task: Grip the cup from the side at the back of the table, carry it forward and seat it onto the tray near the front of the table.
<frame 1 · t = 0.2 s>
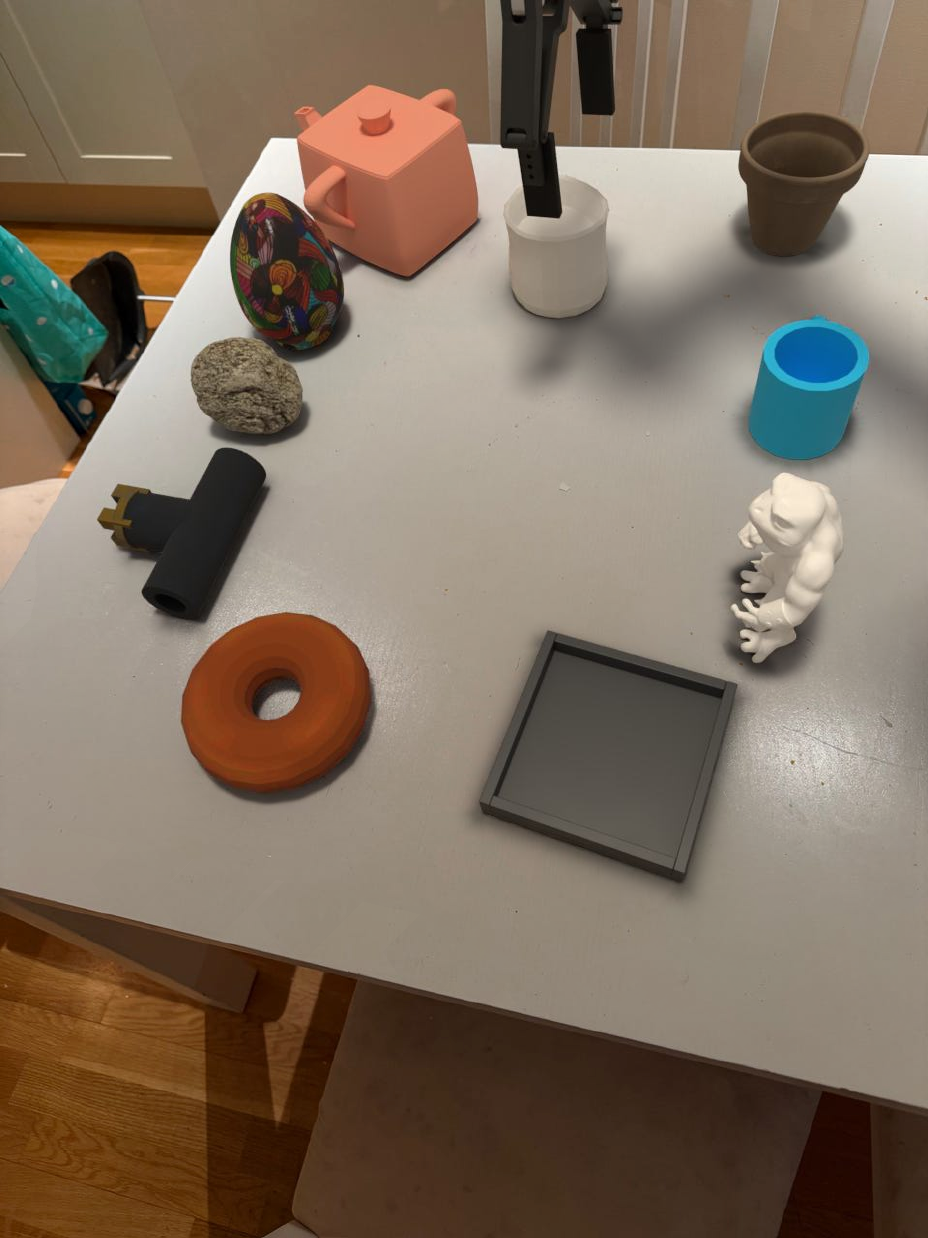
hand: (572, 161, 73), 18 cm above the table, tool pointing down, fingers open, 13 cm apart
tray: (609, 753, 65), on the table
mug: (798, 409, 80), on the table
donut: (286, 713, 70), on the table
teapot: (384, 224, 101), on the table
figurine: (765, 616, 70), on the table
cup: (559, 291, 91), on the table
egg: (305, 330, 93), on the table
pipe connector: (186, 543, 81), on the table
flower pot: (784, 238, 91), on the table
stone: (263, 424, 87), on the table
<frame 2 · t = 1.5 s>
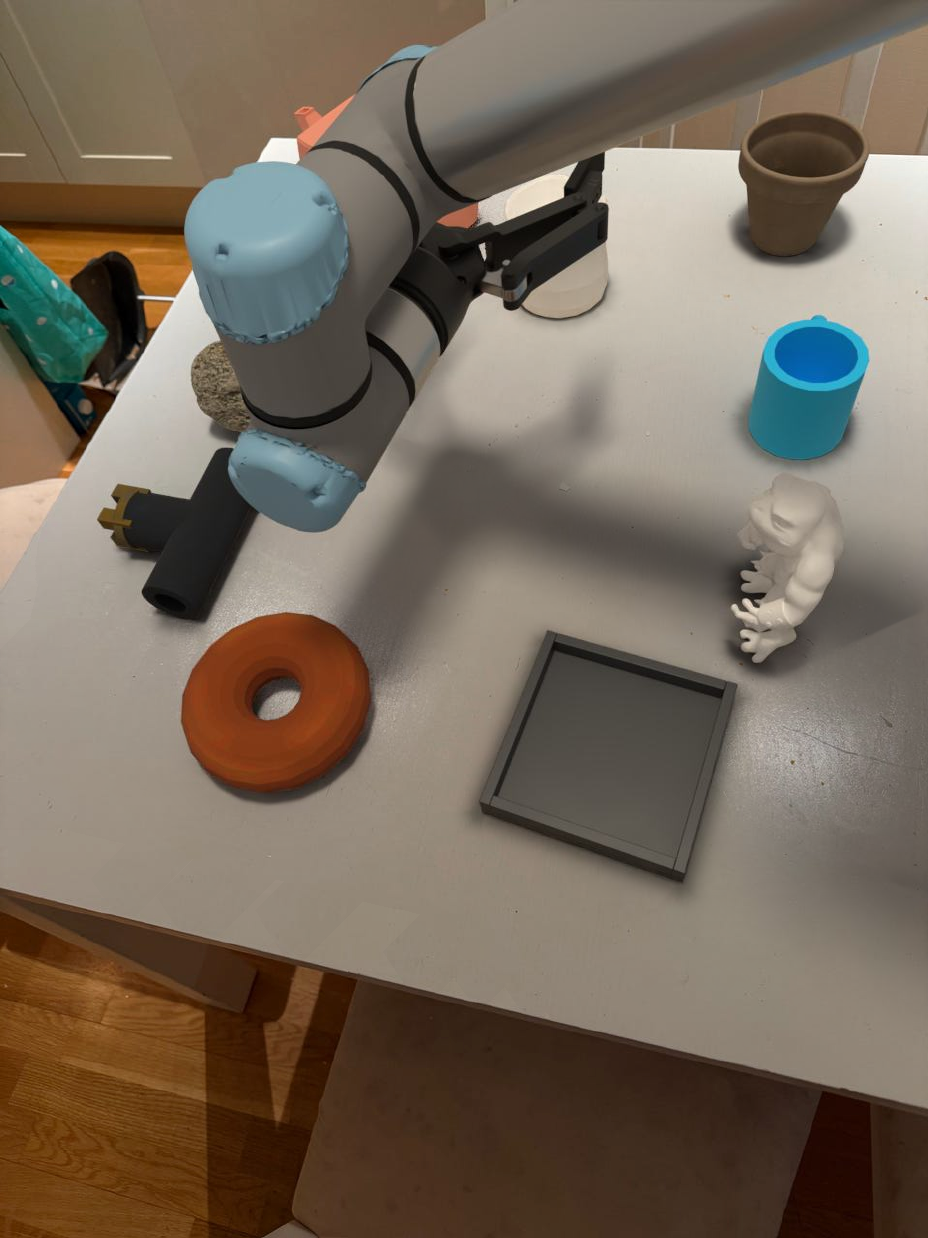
hand: (514, 137, 67), 23 cm above the table, tool horizontal, fingers open, 13 cm apart
nothing on the table moved.
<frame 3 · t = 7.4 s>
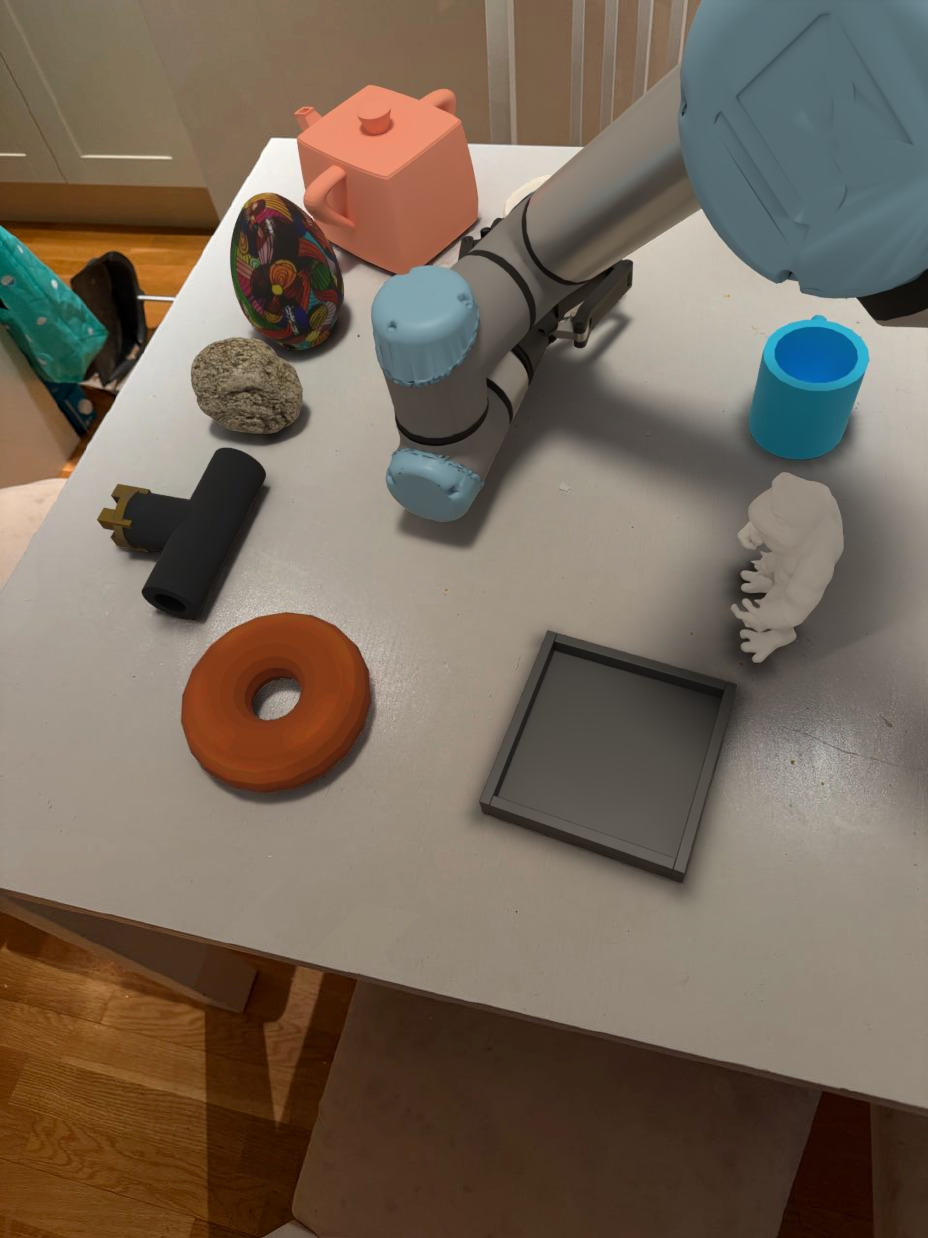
hand: (571, 210, 88), 6 cm above the table, tool horizontal, fingers closed on cup, 10 cm apart
cup: (559, 290, 91), on the table, touching gripper
everything else where it was.
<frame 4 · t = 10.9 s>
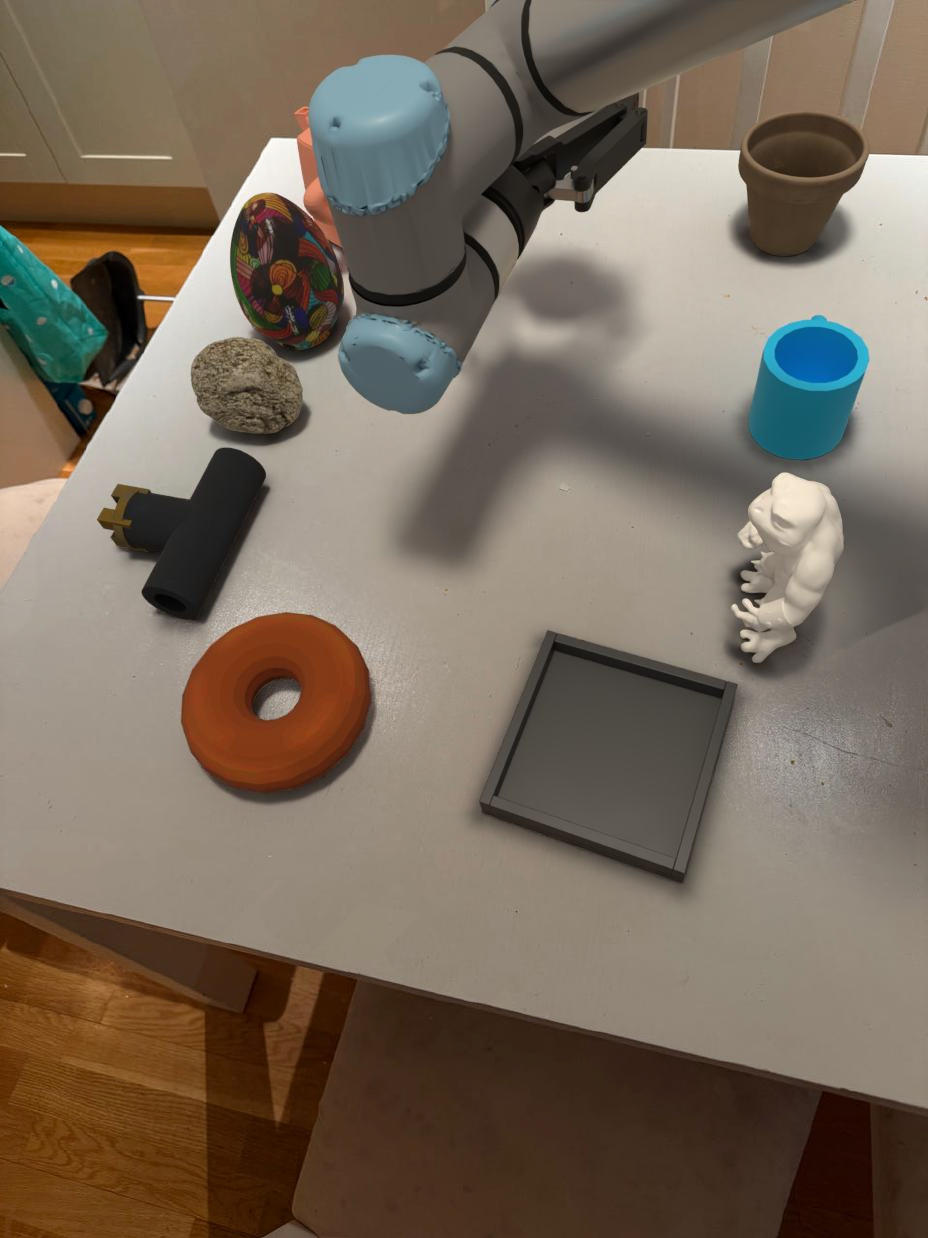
hand: (573, 63, 74), 21 cm above the table, tool horizontal, fingers closed on cup, 10 cm apart
cup: (558, 164, 77), point 15 cm above the table, touching gripper
everything else where it was.
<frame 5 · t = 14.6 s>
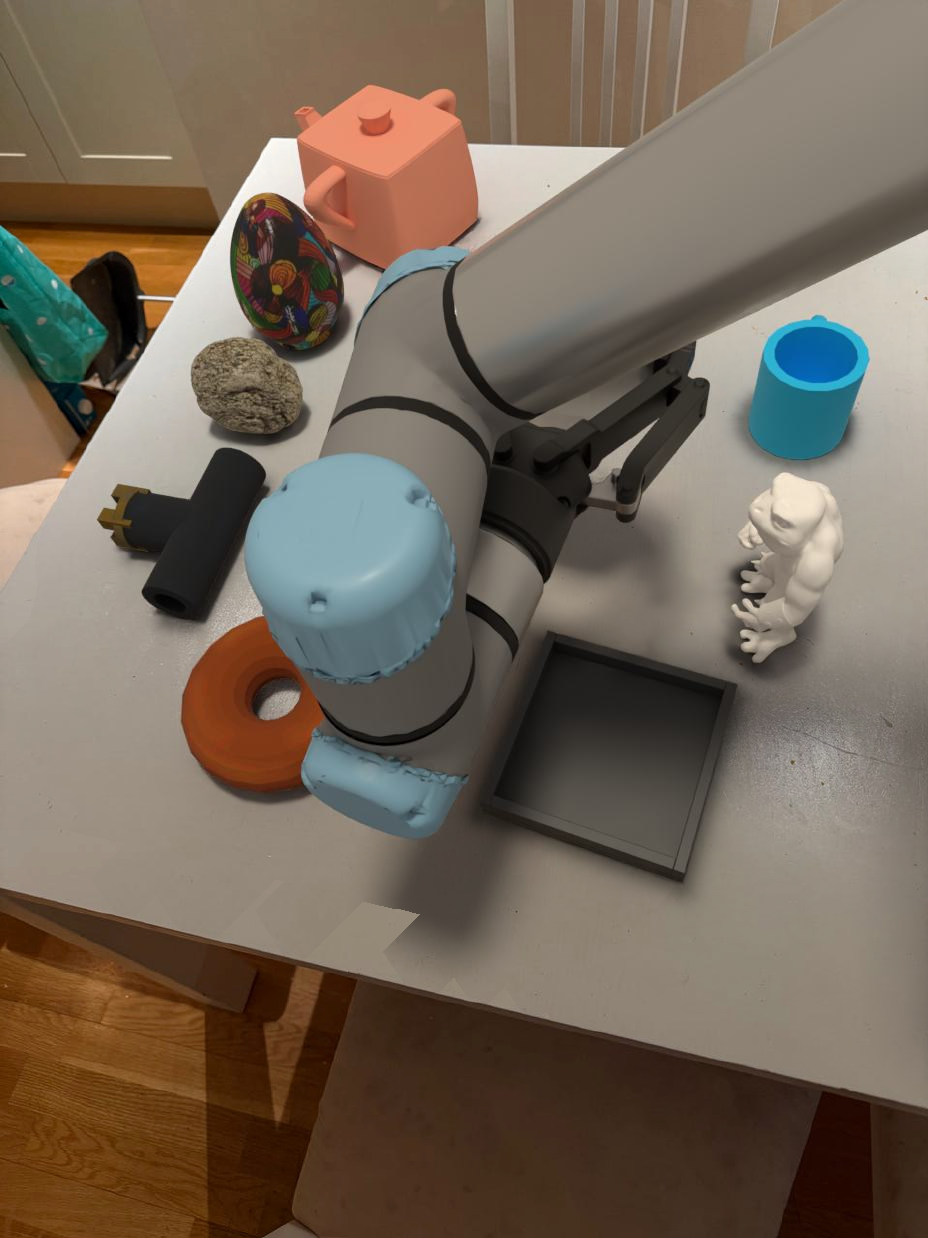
hand: (609, 290, 58), 22 cm above the table, tool horizontal, fingers closed on cup, 10 cm apart
cup: (588, 404, 62), point 16 cm above the table, touching gripper
everything else where it was.
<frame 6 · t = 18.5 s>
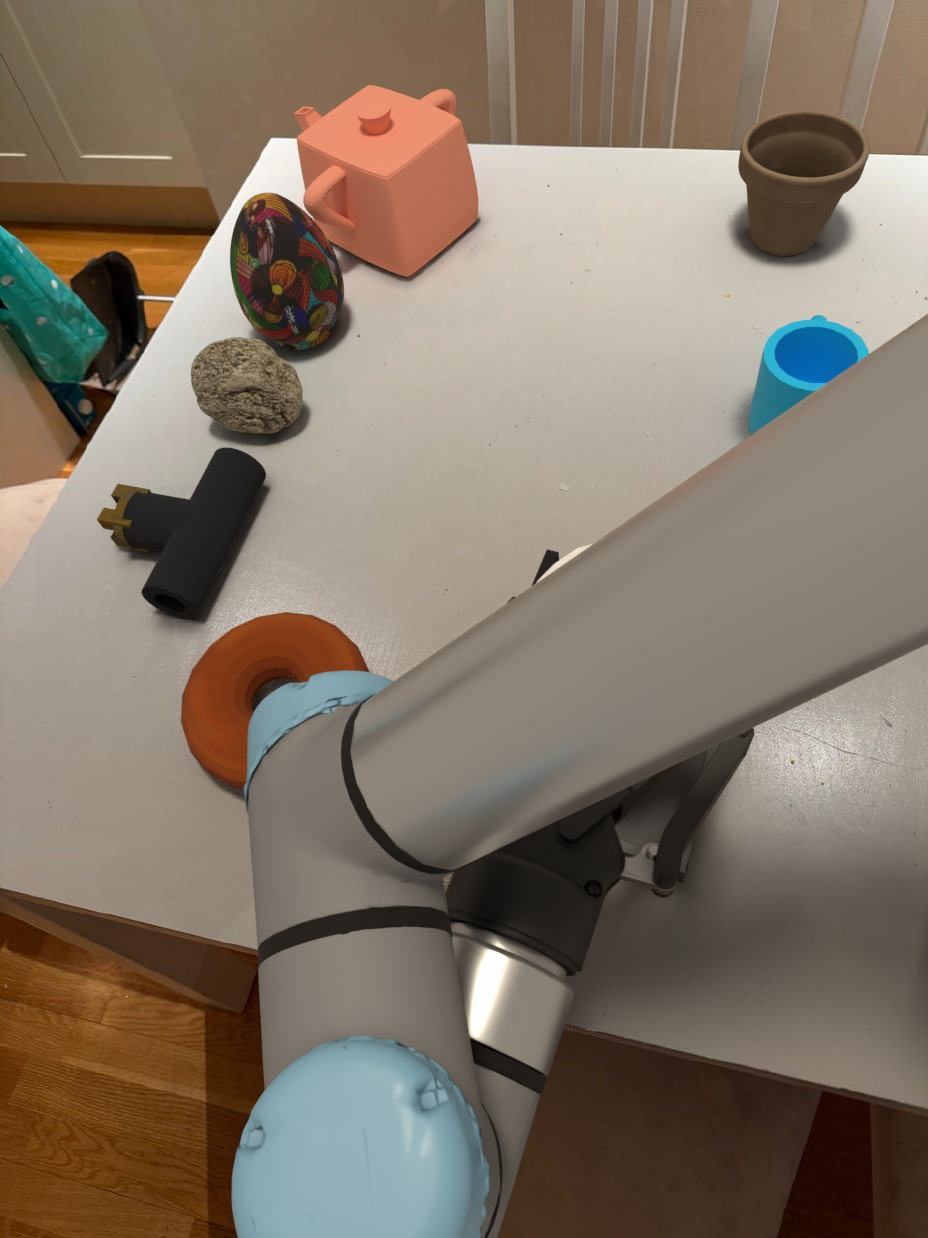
hand: (636, 584, 53), 17 cm above the table, tool horizontal, fingers closed on cup, 10 cm apart
cup: (611, 692, 56), point 10 cm above the table, touching gripper
everything else where it was.
when the fingers open (7 cm above the table, at t = 21.7 s): cup stays where it is, resting on tray.
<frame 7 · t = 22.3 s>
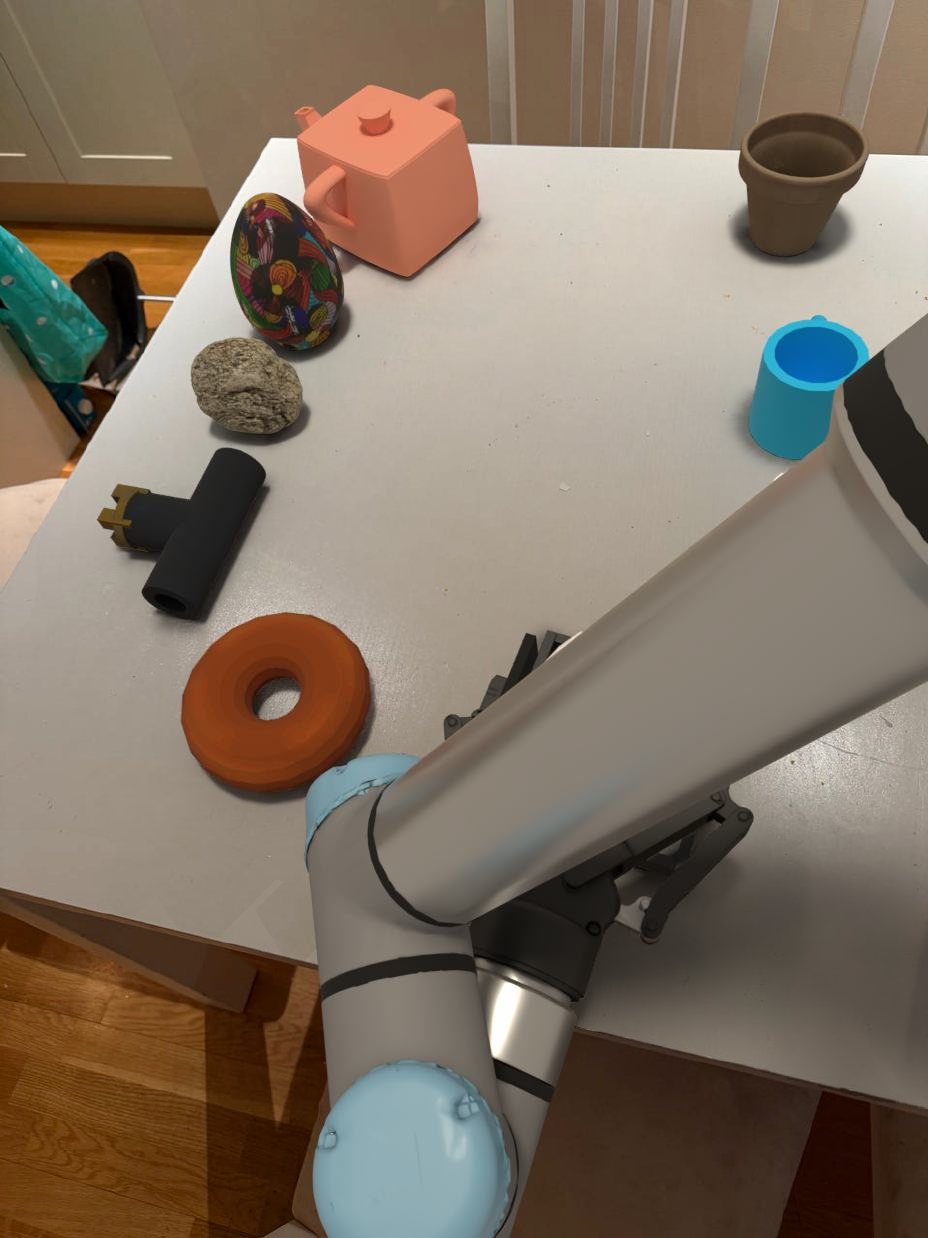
hand: (626, 670, 60), 7 cm above the table, tool horizontal, fingers open, 13 cm apart
cup: (609, 750, 65), point 1 cm above the table, touching tray
everything else where it was.
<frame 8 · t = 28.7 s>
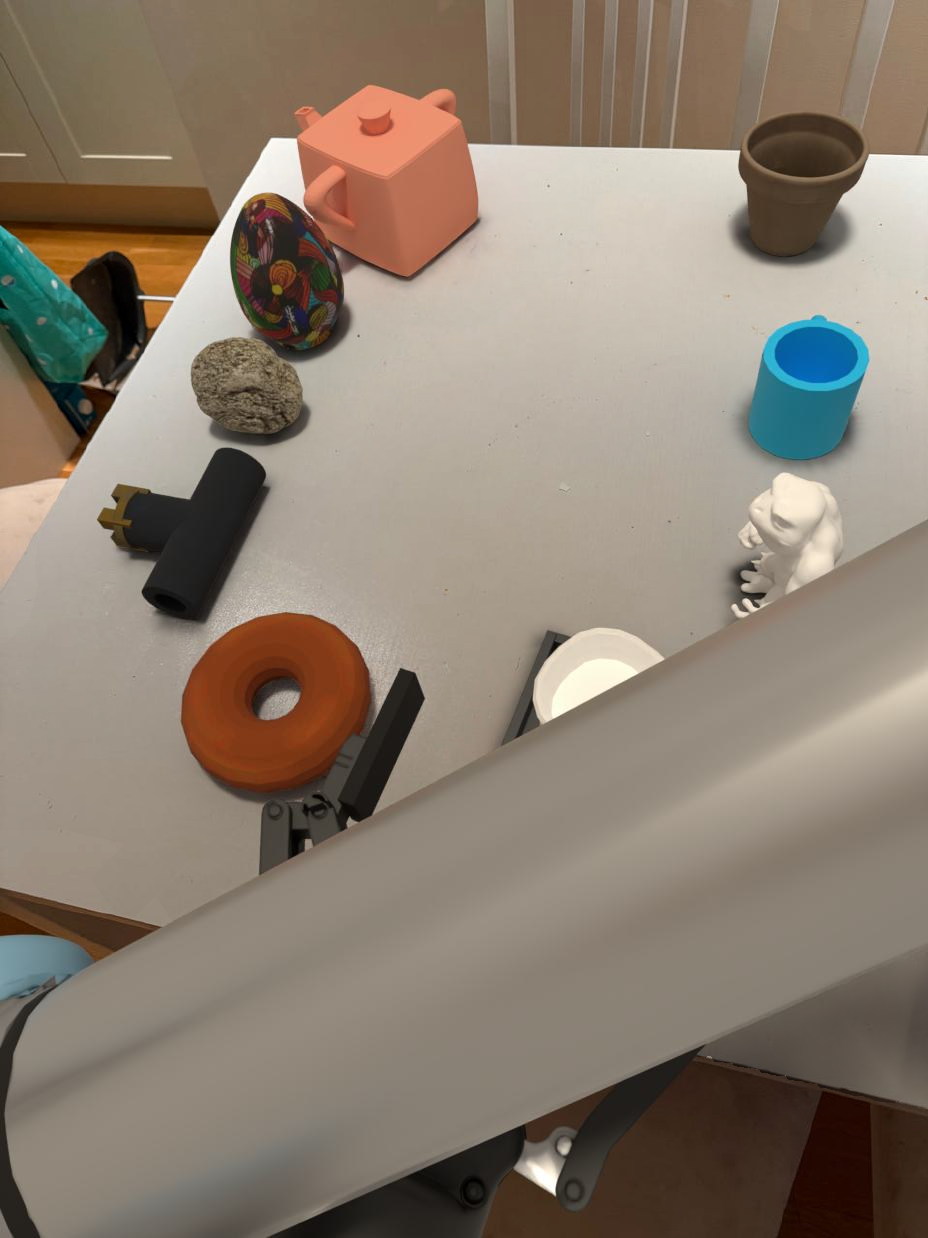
hand: (553, 726, 39), 26 cm above the table, tool horizontal, fingers open, 13 cm apart
nothing on the table moved.
at the end: cup 0.1 cm off-centre in the tray, point 0.6 cm above the tray's base; cup tilted 0°; the gripper is holding nothing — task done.
